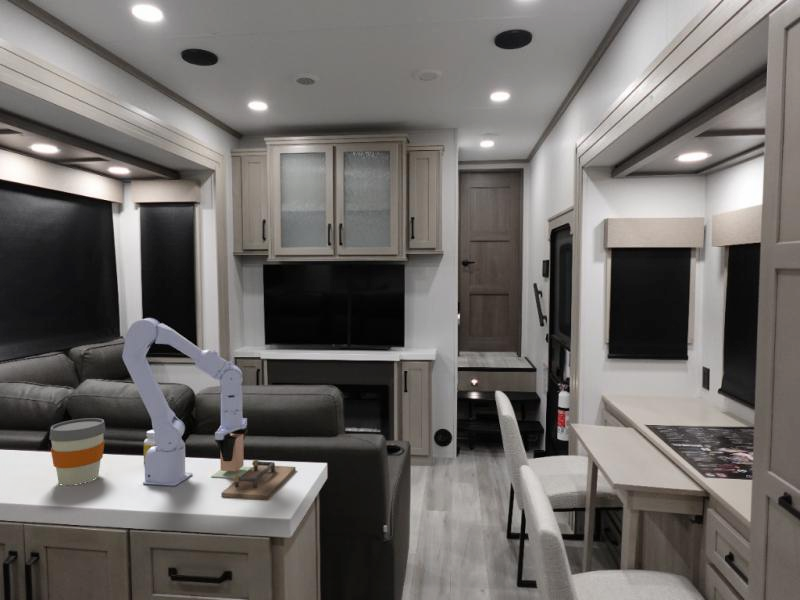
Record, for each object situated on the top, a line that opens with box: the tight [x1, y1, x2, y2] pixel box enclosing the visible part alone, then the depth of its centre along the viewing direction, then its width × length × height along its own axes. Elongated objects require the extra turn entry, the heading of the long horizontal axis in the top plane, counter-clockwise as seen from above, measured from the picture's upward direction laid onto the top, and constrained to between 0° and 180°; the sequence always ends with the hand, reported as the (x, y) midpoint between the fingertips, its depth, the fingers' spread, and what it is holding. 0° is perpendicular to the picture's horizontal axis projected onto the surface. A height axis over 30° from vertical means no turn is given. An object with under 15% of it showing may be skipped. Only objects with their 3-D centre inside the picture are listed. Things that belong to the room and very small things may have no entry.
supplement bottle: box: [143, 429, 156, 467], centre depth 139 cm, size 5×5×10 cm
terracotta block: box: [219, 433, 245, 471], centre depth 132 cm, size 4×4×9 cm
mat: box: [210, 466, 253, 480], centre depth 133 cm, size 8×8×1 cm
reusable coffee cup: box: [49, 417, 106, 486], centre depth 128 cm, size 13×13×15 cm
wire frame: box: [220, 459, 296, 501], centre depth 126 cm, size 12×19×4 cm, turn 172°
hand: (232, 457), depth 133 cm, fingers closed on terracotta block, 4 cm apart
